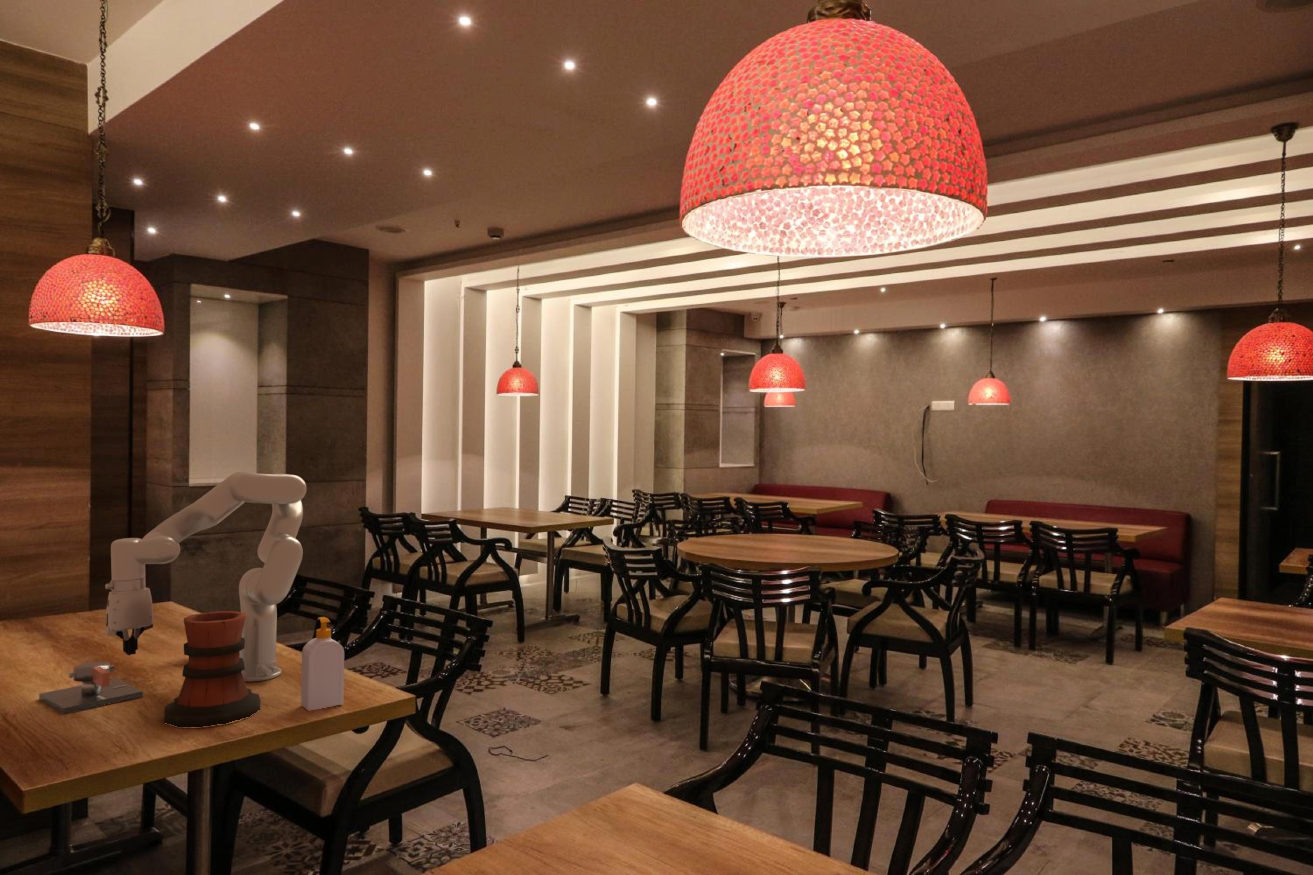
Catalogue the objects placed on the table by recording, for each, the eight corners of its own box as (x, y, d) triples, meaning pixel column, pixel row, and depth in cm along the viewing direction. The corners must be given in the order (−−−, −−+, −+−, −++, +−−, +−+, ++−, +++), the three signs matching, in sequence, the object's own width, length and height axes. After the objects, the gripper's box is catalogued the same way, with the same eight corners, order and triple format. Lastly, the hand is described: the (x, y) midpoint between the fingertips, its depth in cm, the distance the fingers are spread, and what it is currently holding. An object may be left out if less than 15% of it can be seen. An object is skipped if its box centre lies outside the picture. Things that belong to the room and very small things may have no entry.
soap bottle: (334, 698, 218) (336, 613, 219) (343, 705, 213) (345, 618, 213) (299, 704, 213) (301, 617, 213) (307, 711, 207) (309, 622, 207)
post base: (142, 696, 217) (143, 677, 217) (63, 714, 202) (63, 693, 202) (116, 683, 228) (116, 664, 228) (39, 699, 213) (39, 679, 213)
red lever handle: (64, 677, 214) (64, 664, 214) (109, 670, 222) (109, 657, 222) (82, 691, 203) (82, 677, 203) (128, 682, 211) (128, 668, 211)
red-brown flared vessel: (149, 731, 192) (151, 628, 192) (181, 699, 216) (183, 607, 216) (251, 724, 198) (253, 624, 198) (270, 693, 222) (272, 604, 222)
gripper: (99, 591, 206) (101, 663, 206) (165, 582, 217) (166, 650, 218) (91, 587, 211) (93, 657, 211) (155, 579, 222) (157, 645, 222)
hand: (130, 653), depth 214 cm, fingers closed
